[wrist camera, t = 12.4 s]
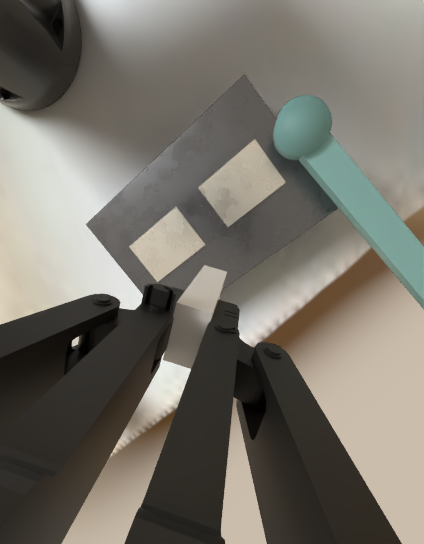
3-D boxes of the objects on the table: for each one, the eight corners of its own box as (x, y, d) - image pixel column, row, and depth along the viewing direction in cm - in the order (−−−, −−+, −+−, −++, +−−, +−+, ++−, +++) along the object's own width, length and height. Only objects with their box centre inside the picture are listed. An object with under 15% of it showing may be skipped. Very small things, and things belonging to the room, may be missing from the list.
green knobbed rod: (262, 135, 23) (264, 125, 20) (301, 97, 22) (307, 81, 19) (434, 338, 24) (456, 354, 22) (477, 312, 23) (506, 326, 21)
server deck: (109, 222, 35) (69, 225, 27) (253, 89, 29) (253, 47, 21) (180, 311, 36) (161, 338, 29) (332, 202, 30) (358, 200, 23)
